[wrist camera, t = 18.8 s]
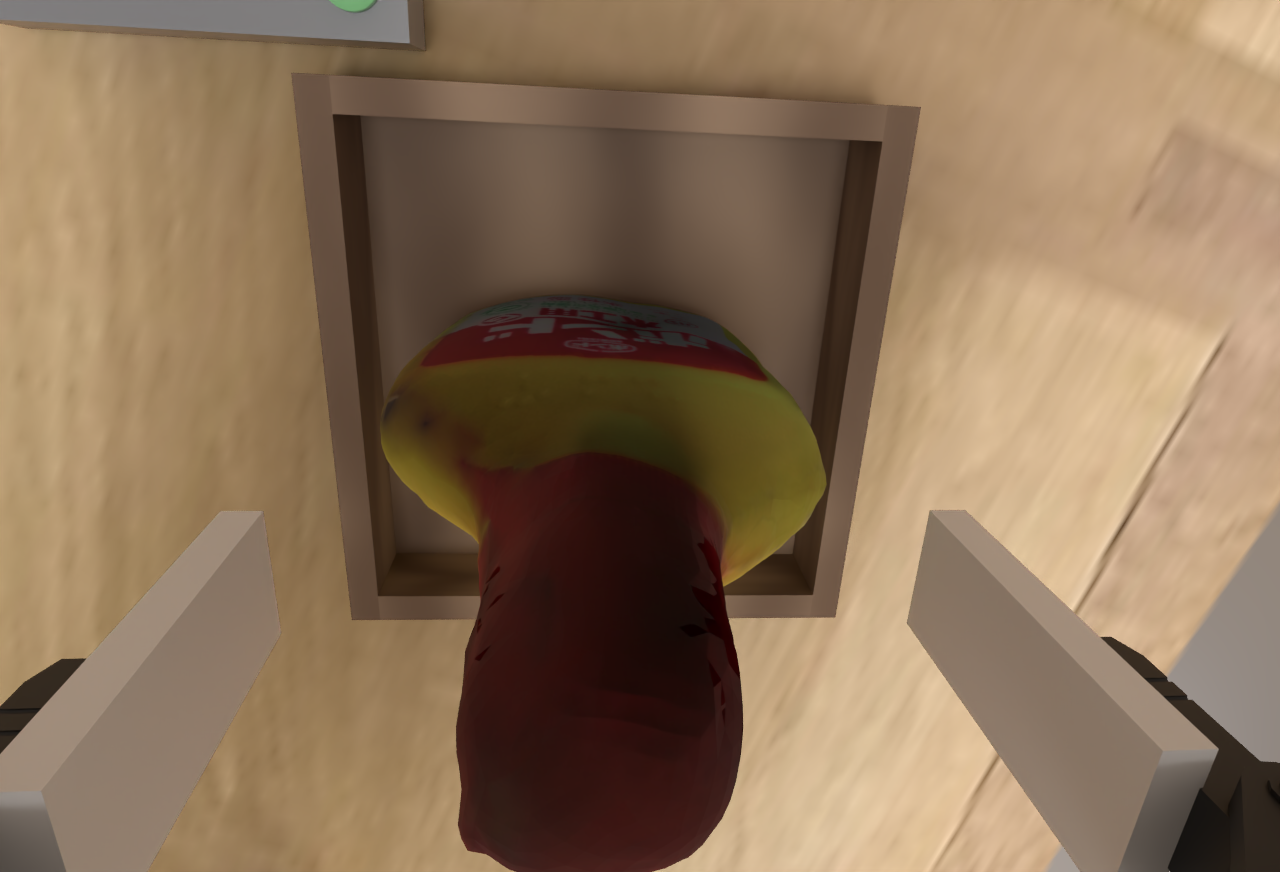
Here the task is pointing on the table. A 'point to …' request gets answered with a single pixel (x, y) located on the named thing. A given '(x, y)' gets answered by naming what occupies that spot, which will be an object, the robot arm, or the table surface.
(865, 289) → the tray
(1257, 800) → the robot arm
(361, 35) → the grey flat square piece
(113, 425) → the table surface
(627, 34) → the table surface
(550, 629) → the bottle
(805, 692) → the table surface
